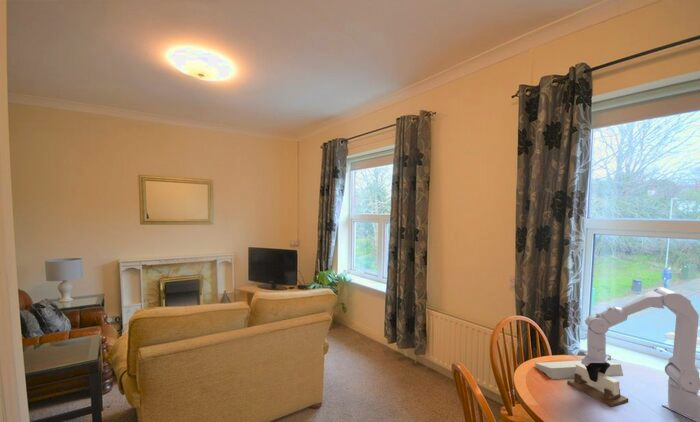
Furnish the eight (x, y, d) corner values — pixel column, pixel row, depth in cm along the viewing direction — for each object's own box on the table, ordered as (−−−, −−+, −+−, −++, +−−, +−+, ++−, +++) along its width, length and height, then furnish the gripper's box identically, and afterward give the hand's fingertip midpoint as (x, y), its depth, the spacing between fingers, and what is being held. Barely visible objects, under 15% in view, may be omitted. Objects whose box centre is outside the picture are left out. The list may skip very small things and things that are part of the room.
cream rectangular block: (619, 394, 112) (619, 381, 112) (614, 395, 111) (614, 382, 111) (580, 374, 125) (580, 363, 125) (575, 375, 124) (575, 364, 124)
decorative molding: (536, 374, 136) (553, 380, 127) (534, 363, 138) (551, 368, 128) (602, 370, 140) (623, 376, 130) (600, 359, 141) (620, 364, 132)
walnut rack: (628, 401, 112) (628, 389, 112) (611, 407, 109) (611, 395, 109) (583, 378, 128) (583, 368, 128) (567, 383, 124) (567, 372, 124)
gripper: (597, 339, 124) (597, 371, 124) (573, 344, 120) (573, 377, 120) (617, 347, 118) (616, 380, 118) (592, 352, 113) (592, 387, 113)
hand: (596, 379), depth 118 cm, fingers open, 3 cm apart
